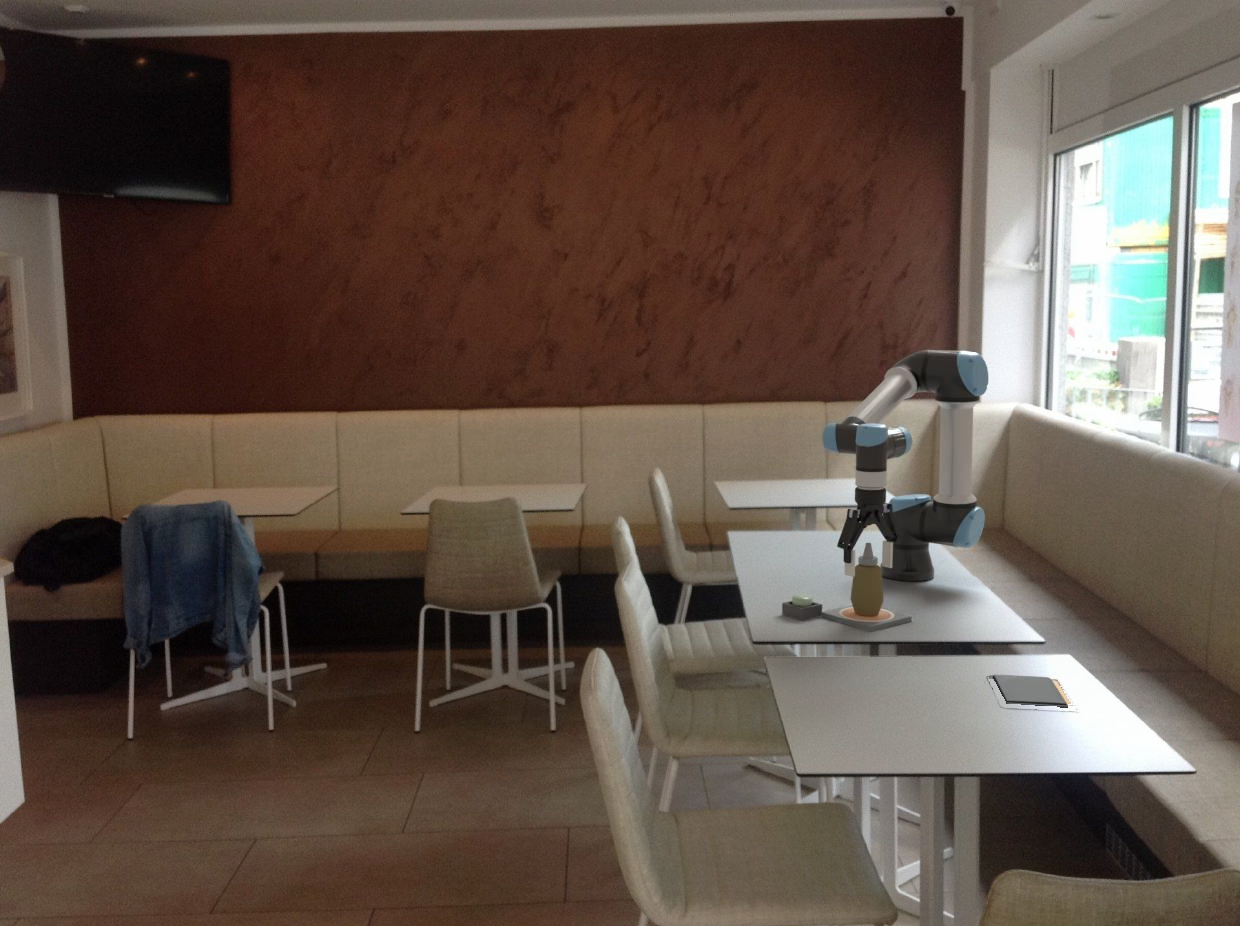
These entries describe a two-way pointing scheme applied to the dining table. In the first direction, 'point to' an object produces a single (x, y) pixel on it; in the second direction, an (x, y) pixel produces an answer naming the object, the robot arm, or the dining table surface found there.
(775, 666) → the dining table surface
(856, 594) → the squeeze bottle
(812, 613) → the button housing
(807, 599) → the button
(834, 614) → the print board
